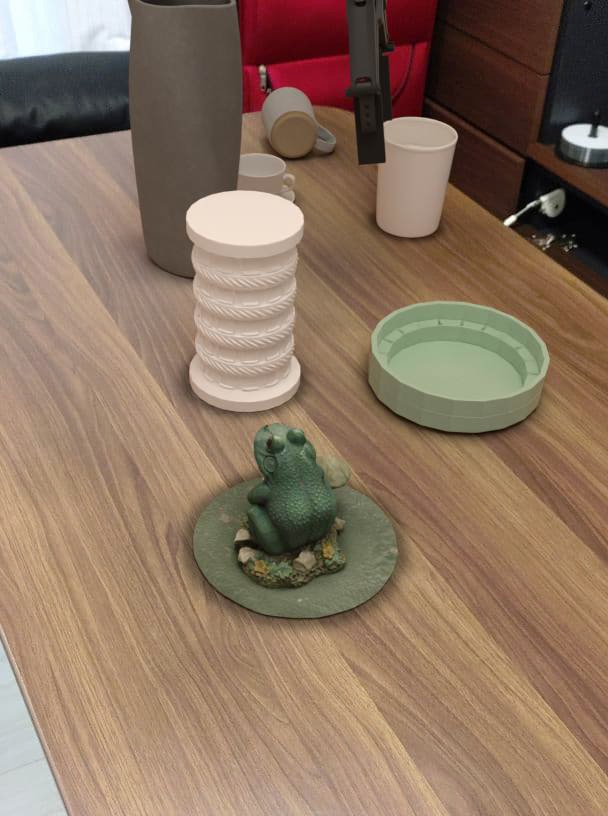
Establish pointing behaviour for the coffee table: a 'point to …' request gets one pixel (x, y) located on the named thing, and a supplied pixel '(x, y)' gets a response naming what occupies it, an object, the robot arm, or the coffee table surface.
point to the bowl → (457, 366)
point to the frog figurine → (295, 534)
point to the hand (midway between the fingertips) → (376, 141)
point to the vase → (183, 115)
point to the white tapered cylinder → (414, 175)
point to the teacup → (264, 175)
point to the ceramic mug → (293, 124)
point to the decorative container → (244, 299)
